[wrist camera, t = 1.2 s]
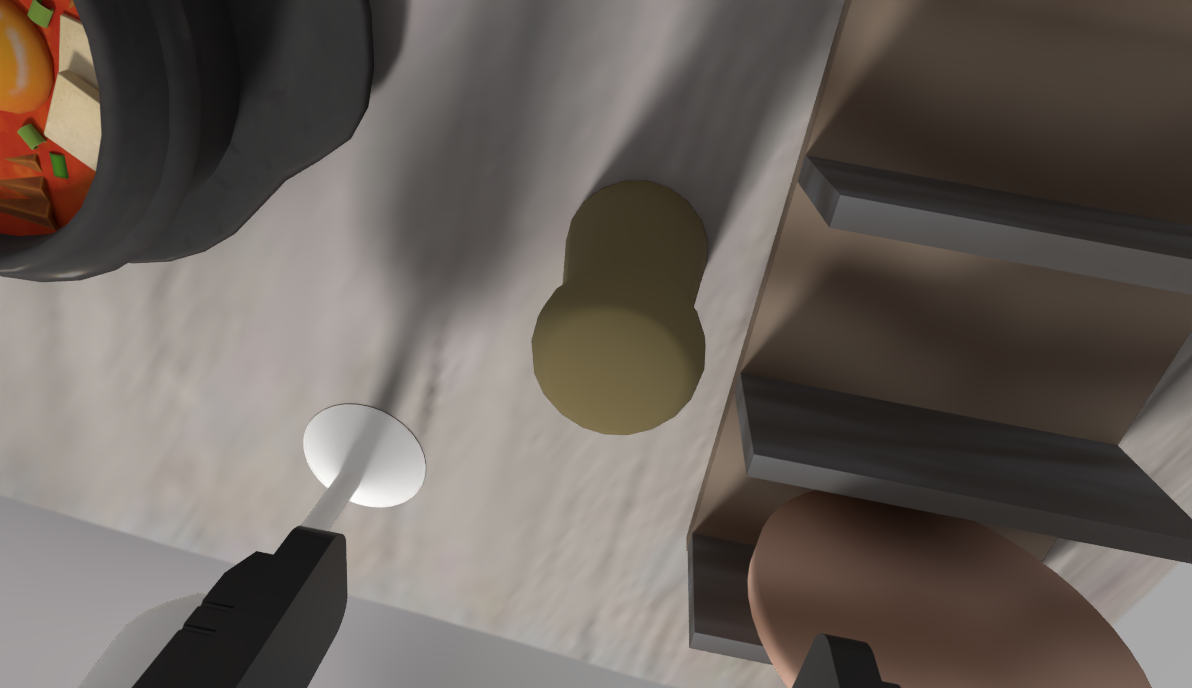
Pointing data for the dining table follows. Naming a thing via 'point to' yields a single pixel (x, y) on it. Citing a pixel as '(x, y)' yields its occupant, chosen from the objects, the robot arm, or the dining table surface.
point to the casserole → (163, 121)
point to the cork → (625, 311)
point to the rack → (958, 347)
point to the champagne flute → (351, 473)
